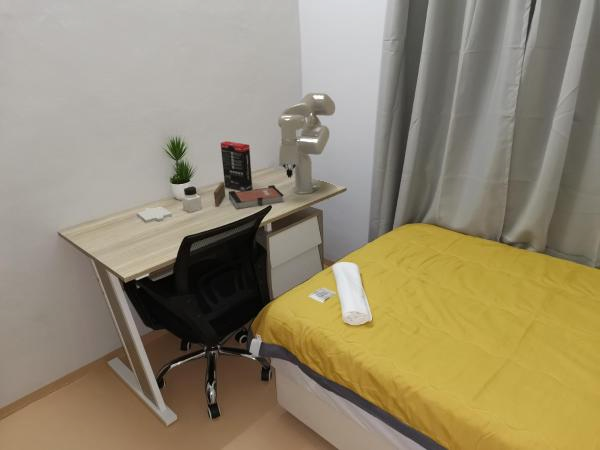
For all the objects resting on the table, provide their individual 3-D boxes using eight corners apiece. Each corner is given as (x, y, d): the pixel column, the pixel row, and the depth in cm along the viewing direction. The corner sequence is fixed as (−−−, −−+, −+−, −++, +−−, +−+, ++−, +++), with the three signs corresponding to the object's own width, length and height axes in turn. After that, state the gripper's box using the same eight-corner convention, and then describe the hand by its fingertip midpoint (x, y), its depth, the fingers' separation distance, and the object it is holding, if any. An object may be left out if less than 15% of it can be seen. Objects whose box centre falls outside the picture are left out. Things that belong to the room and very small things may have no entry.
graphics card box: (253, 189, 237) (250, 143, 226) (246, 192, 231) (242, 146, 220) (231, 184, 245) (227, 140, 234) (223, 187, 240) (219, 142, 229)
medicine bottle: (202, 208, 209) (199, 187, 204) (190, 212, 205) (187, 190, 200) (194, 205, 214) (191, 184, 209) (183, 209, 209) (179, 187, 204)
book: (237, 210, 207) (236, 201, 205) (229, 200, 222) (228, 191, 220) (284, 203, 216) (284, 194, 214) (273, 193, 231) (273, 185, 229)
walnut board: (225, 195, 227) (224, 182, 224) (218, 206, 212) (216, 192, 208) (222, 195, 227) (221, 182, 224) (215, 206, 212) (213, 192, 209)
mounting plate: (135, 214, 205) (134, 211, 204) (160, 208, 212) (159, 205, 211) (148, 225, 192) (147, 221, 191) (174, 218, 200) (173, 214, 199)
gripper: (303, 140, 206) (304, 175, 213) (275, 140, 207) (276, 174, 214) (303, 143, 199) (303, 179, 207) (273, 143, 200) (274, 178, 207)
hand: (289, 176), depth 210 cm, fingers closed
